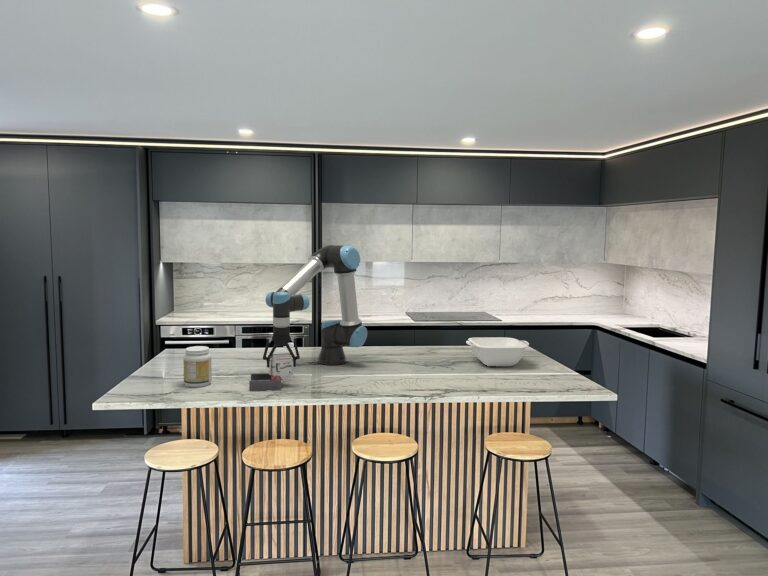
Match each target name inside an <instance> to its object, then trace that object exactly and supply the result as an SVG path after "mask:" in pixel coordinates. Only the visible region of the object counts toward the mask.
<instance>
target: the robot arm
mask: <svg viewBox="0 0 768 576" xmlns="http://www.w3.org/2000/svg"><path fill="white" fill-rule="evenodd" d="M360 263H361V255H360V252H359V251H358V249H357V248H356V247H354V246H351V245H341V244H339V245H336V244H328V245H325V246H323V247H321V248H320V249H318V250H317V251H315V252H314V253H313V254H311V255H310V256H309V257H308V261H307V262H306V263H305V264H304V265H302V266H301V267H300V269H299V270H297V271H296V272H295V273H294V274H293V275H292V276H291V277H290V278H289V279H288V280H286V282H284V284H283V285H281V287H279V288H278V289H277V290H276V291H271V292H268V293H267V294H266V297H265V304H266V305H267V306H268V307H269V308H272V326H273V327H272V337H266V339H265V340H266V341H265V343H266V344H265V349H264V352H263V356H262V359H263V361H266V368H267V369H269V371H268V373H269V375H271V356H272V354H275V351H276V349H277V347H286V349H287V351H288V353H289V354H290V355H292V375H294V368H296V367H297V360H300V358H301V357H300V353H299V352H300V351H299V349H298V344H297V337H296V336H294V337H292V336H291V335H290V334H291V329H290V328H291V327H290V323H291V321H290V320H291V317H290V316H291V314H290V313H291V312H299V311H301V312H302V311H304V310H305V311H306V310H307V309H309V306H310V299H309V297H308V295H306V294H301V293H300V294H297V293H298V292H299V291H301V290H302V288H304V287H305V286H306V285H307V284H308V283H309V282H310V281H311V280H312V279H313V278H314V277H315V276H316V275H317V274H318V273H322V272H323V271H324V270H326V269H328V268H330V269H331V268H333V273H334V274H335V275H336V276H337V284H338V293H339V303H340V304H339V305H340V313H341V319H331V320H324V321H323V322H322V323H321V329H320V330H321V331H320V334H321V337H320V338H321V339H320V340H321V345H320V346H321V347H320V348H321V349H320V351H319V354H318V358H317V362H318V364H320V365H325V366H338V365H343V364H346V363H347V362H346V361H347V358H346V354H345V351H344V346H345V347H350V348H361V347H362V346H363V345H364V344H365V342H366V340H367V339H368V338H367V337H368V329H367V328H366V327H365V326H364V325H363V323H362V319H361V318H359V312H358V302H357V290H356V282H355V273H356V272H357V269H358V267H359V266H360ZM271 342H273V343H274V344H273V346H272V348H271V350H270V352H269V354H268V349H269V347H270V344H271ZM289 342H292V343H293V346H294V350H295V354H294V352H293V350H292V348H291V346H290V345H289ZM267 354H268V356H267Z"/></svg>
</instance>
